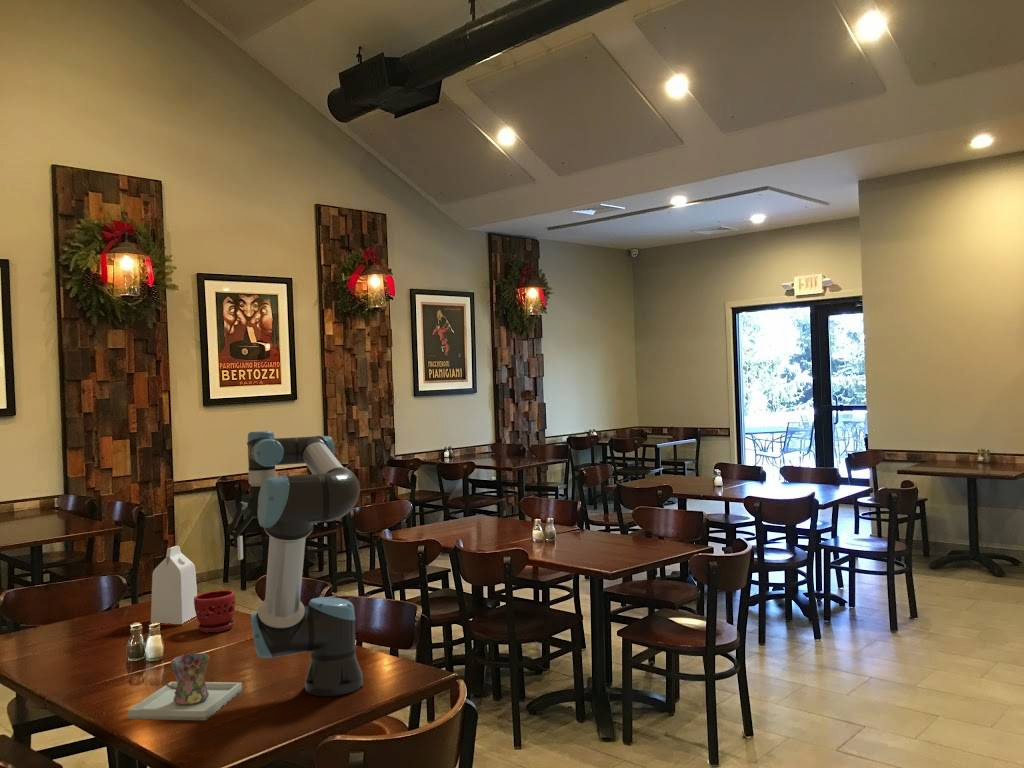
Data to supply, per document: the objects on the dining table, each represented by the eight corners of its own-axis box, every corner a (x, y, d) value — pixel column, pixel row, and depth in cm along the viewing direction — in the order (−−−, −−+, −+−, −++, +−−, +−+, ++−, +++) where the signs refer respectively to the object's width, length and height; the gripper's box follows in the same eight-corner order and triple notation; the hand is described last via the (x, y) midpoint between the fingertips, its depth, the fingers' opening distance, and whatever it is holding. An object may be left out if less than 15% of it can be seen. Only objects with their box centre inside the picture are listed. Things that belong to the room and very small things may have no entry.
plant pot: (231, 621, 293) (230, 587, 293) (239, 630, 281) (238, 594, 281) (191, 628, 286) (190, 593, 286) (198, 637, 275) (197, 600, 275)
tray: (242, 690, 223) (241, 682, 223) (205, 720, 203) (205, 711, 203) (171, 689, 225) (171, 681, 225) (128, 718, 205) (127, 709, 205)
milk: (168, 616, 303) (166, 544, 303) (198, 616, 301) (196, 544, 302) (150, 625, 291) (148, 550, 291) (182, 625, 289) (180, 550, 290)
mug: (200, 691, 221) (198, 651, 221) (217, 699, 215) (216, 657, 215) (154, 704, 212) (153, 662, 212) (171, 713, 206) (170, 670, 206)
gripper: (308, 481, 247) (310, 553, 246) (222, 485, 246) (224, 557, 245) (303, 483, 239) (305, 558, 239) (214, 487, 238) (216, 562, 238)
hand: (264, 558), depth 242 cm, fingers open, 13 cm apart
